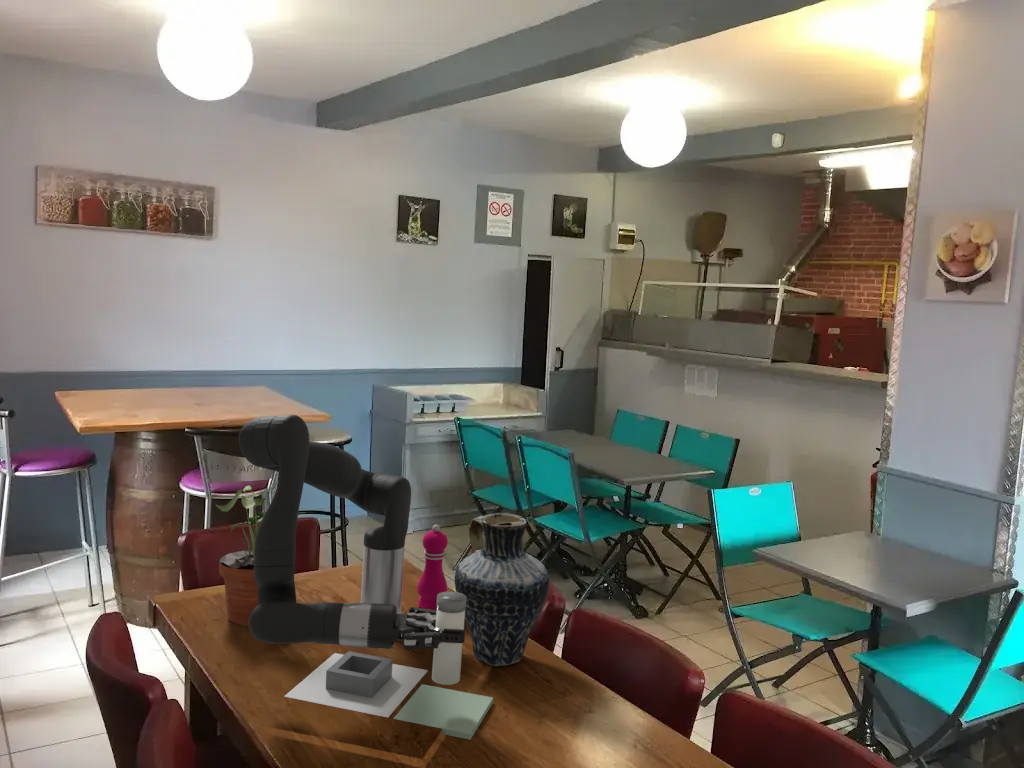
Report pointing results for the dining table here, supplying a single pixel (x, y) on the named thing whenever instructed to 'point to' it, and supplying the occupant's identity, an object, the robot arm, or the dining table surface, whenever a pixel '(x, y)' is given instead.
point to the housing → (358, 683)
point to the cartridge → (449, 653)
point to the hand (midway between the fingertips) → (464, 630)
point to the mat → (446, 710)
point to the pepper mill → (432, 569)
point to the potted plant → (241, 566)
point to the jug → (500, 588)
